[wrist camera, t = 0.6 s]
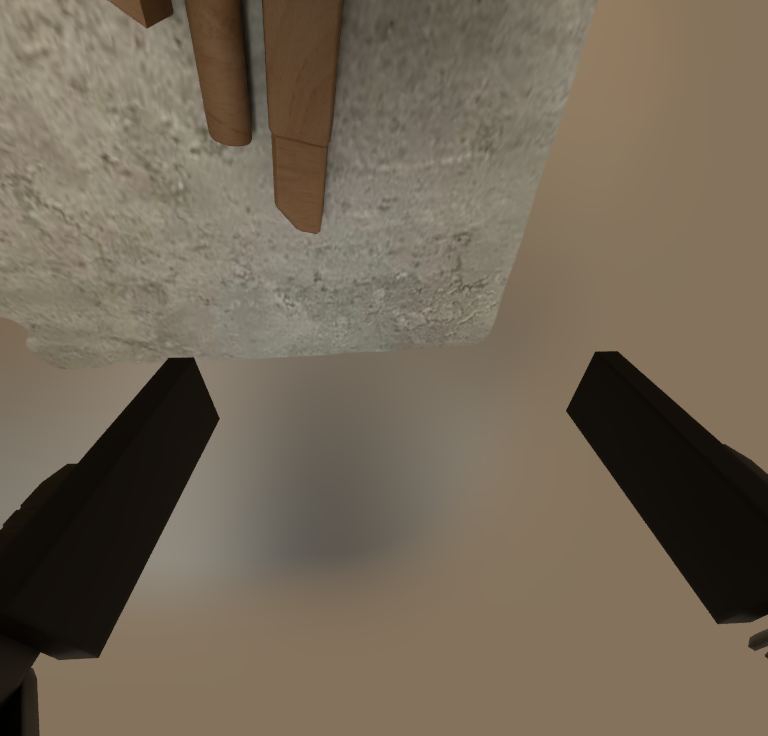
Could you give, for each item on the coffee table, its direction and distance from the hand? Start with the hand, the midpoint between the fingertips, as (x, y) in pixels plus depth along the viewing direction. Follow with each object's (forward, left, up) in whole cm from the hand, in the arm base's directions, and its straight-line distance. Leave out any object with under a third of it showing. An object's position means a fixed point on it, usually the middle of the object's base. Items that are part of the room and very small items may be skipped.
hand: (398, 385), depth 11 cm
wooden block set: (+8, -10, -28) cm, 30 cm away
